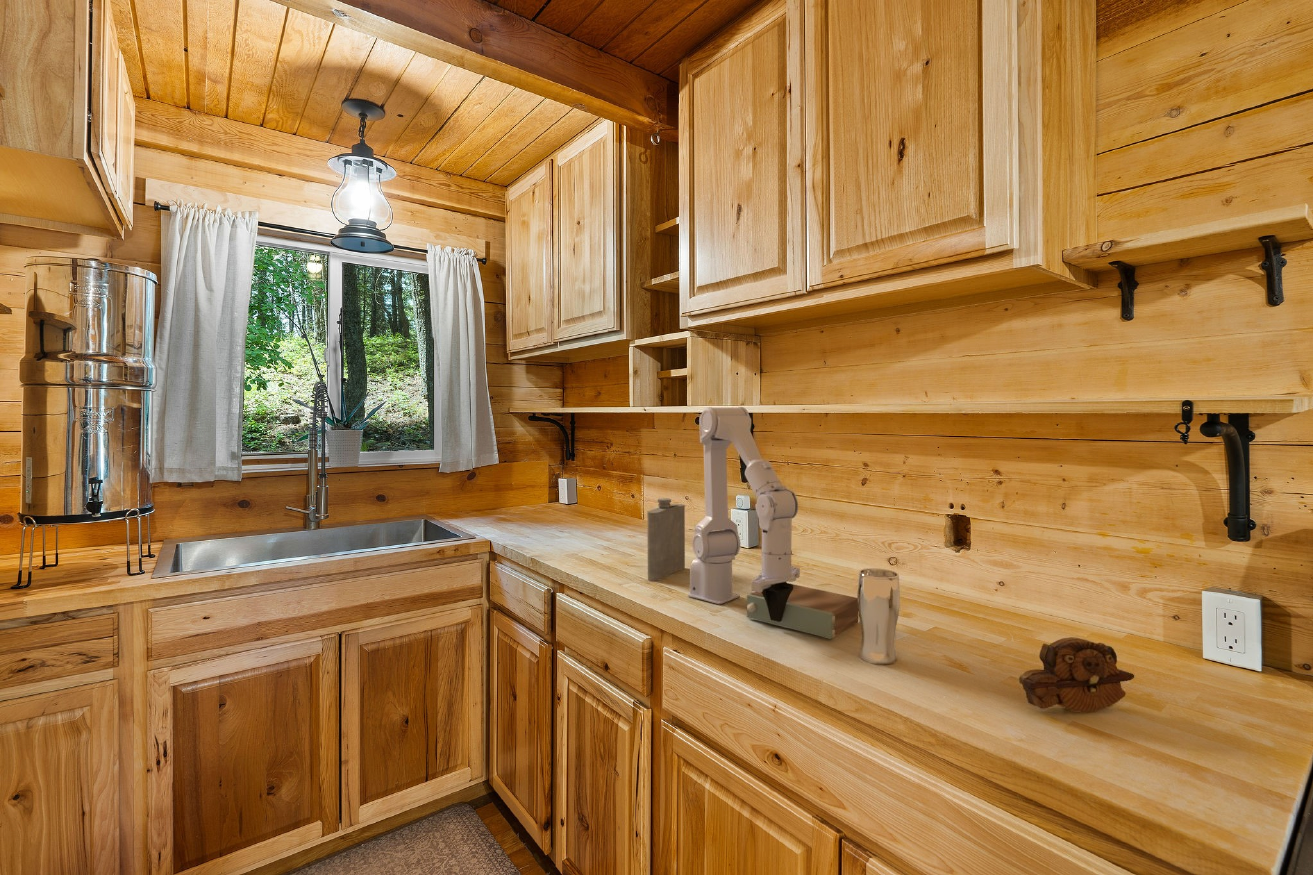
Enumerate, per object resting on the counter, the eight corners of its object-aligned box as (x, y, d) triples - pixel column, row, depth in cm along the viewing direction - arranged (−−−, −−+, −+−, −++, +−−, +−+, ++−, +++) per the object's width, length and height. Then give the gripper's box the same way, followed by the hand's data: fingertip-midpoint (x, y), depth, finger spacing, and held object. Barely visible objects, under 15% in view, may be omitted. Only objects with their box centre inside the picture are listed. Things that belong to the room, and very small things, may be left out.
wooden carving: (1040, 723, 86) (1042, 652, 85) (1015, 708, 90) (1016, 640, 90) (1141, 712, 89) (1143, 643, 88) (1111, 697, 93) (1113, 631, 93)
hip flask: (655, 581, 157) (655, 503, 156) (642, 579, 159) (641, 501, 158) (686, 568, 171) (686, 495, 170) (674, 566, 173) (673, 494, 172)
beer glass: (865, 647, 113) (866, 565, 113) (904, 656, 109) (905, 571, 108) (850, 659, 108) (851, 573, 107) (891, 669, 103) (892, 580, 103)
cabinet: (750, 617, 130) (750, 593, 130) (781, 603, 139) (781, 581, 138) (830, 638, 118) (830, 612, 117) (858, 622, 126) (858, 598, 126)
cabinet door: (743, 618, 128) (743, 596, 127) (749, 615, 129) (749, 594, 129) (830, 641, 115) (830, 616, 115) (835, 637, 117) (835, 613, 116)
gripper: (773, 561, 114) (773, 635, 114) (813, 548, 124) (812, 615, 125) (742, 555, 119) (741, 626, 119) (782, 543, 129) (782, 608, 130)
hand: (776, 620), depth 122 cm, fingers closed
